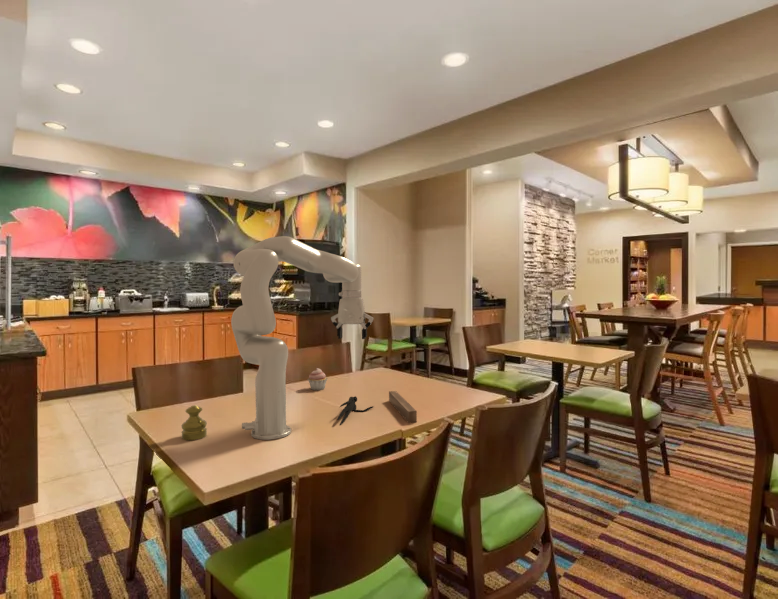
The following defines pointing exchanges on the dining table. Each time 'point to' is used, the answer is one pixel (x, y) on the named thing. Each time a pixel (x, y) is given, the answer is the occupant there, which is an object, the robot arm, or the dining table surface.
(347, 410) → the dark humanoid figurine
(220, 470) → the dining table surface
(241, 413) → the dining table surface
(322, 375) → the cupcake
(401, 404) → the rail
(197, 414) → the olive green tapered piece
